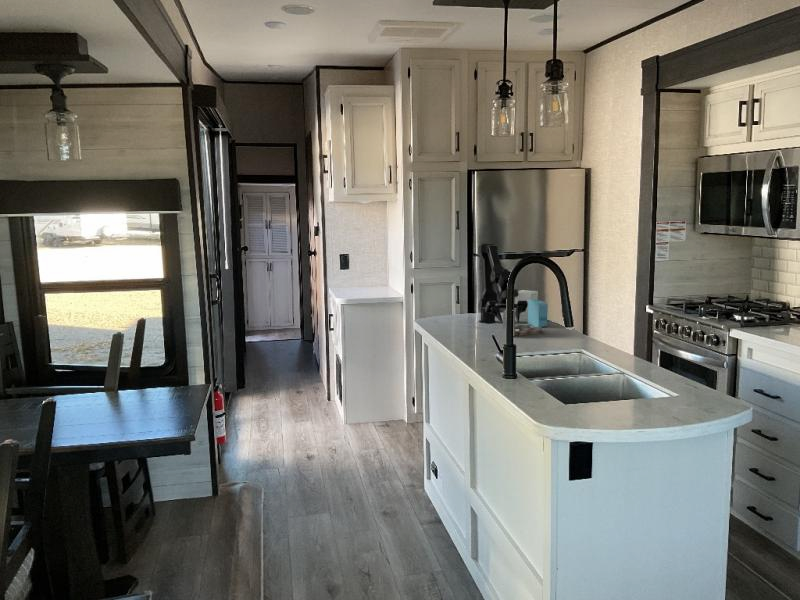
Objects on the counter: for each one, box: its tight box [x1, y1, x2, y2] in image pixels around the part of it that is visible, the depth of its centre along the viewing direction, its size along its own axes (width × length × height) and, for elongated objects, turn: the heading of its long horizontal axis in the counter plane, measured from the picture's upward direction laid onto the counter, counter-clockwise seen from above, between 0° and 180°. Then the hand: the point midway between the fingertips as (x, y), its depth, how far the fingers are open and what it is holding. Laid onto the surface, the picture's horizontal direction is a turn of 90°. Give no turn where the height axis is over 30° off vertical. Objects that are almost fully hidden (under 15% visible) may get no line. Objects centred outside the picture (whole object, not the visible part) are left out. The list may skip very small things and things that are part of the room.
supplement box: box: [514, 289, 539, 323], centre depth 337 cm, size 9×9×15 cm
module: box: [502, 309, 516, 338], centre depth 299 cm, size 4×5×11 cm
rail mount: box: [515, 323, 544, 336], centre depth 307 cm, size 13×10×3 cm
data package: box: [527, 299, 548, 328], centre depth 324 cm, size 12×4×12 cm, turn 15°
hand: (510, 321), depth 297 cm, fingers open, 7 cm apart
